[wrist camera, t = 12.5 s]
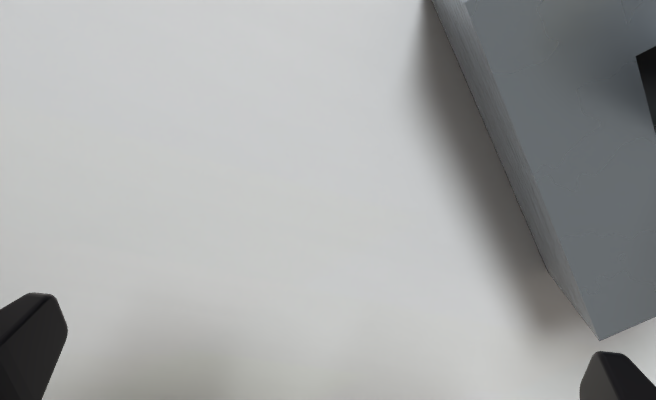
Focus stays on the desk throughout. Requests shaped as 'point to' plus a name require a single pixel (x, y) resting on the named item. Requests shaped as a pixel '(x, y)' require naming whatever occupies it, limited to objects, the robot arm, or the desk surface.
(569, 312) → the desk surface
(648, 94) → the plug
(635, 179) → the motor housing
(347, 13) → the desk surface
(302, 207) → the desk surface
